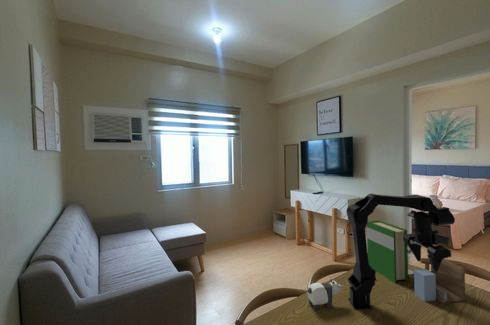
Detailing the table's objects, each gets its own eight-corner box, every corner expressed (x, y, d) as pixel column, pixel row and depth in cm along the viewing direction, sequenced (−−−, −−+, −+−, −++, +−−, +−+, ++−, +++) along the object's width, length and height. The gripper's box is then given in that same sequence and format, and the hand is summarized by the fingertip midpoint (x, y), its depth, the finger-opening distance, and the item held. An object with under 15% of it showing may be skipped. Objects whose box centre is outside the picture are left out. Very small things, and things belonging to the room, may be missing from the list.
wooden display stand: (442, 302, 97) (442, 270, 96) (414, 284, 110) (414, 256, 110) (465, 300, 97) (464, 268, 97) (434, 282, 111) (434, 254, 111)
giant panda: (312, 311, 94) (311, 287, 94) (305, 303, 100) (305, 280, 99) (346, 305, 97) (345, 282, 97) (338, 298, 103) (337, 275, 102)
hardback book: (408, 280, 114) (407, 229, 113) (394, 283, 112) (393, 231, 112) (380, 264, 131) (379, 220, 130) (368, 266, 130) (366, 221, 129)
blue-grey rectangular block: (424, 301, 98) (424, 275, 98) (414, 294, 103) (414, 269, 103) (435, 300, 98) (435, 274, 98) (425, 293, 103) (425, 268, 103)
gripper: (464, 232, 87) (468, 275, 87) (426, 218, 105) (430, 254, 106) (433, 235, 87) (437, 278, 87) (400, 221, 106) (404, 257, 106)
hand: (427, 265), depth 97 cm, fingers open, 9 cm apart
